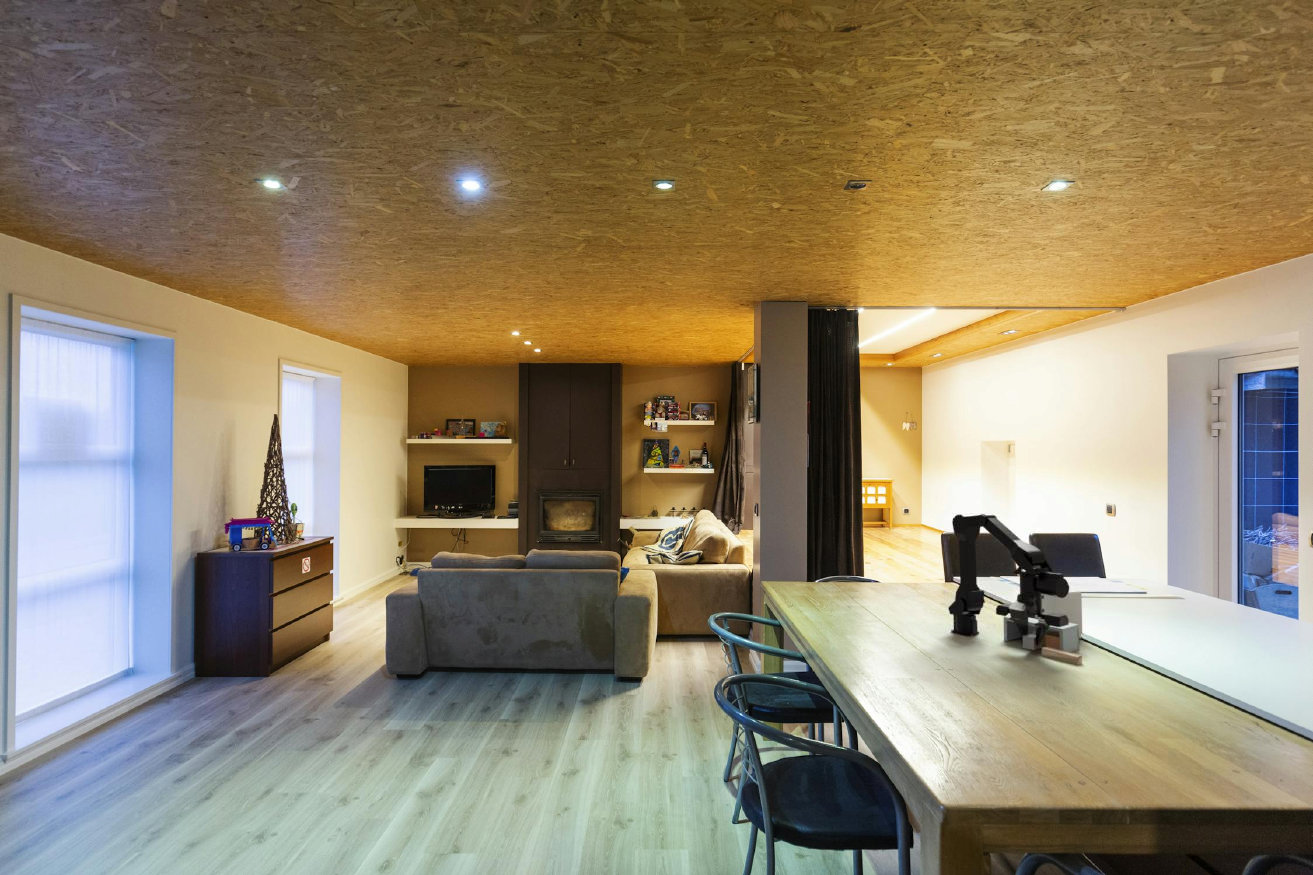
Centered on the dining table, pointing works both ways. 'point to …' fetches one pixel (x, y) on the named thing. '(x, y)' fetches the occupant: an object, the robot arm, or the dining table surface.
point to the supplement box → (1065, 607)
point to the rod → (1062, 655)
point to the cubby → (1067, 633)
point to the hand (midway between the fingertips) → (1031, 643)
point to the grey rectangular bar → (1033, 641)
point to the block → (1053, 640)
